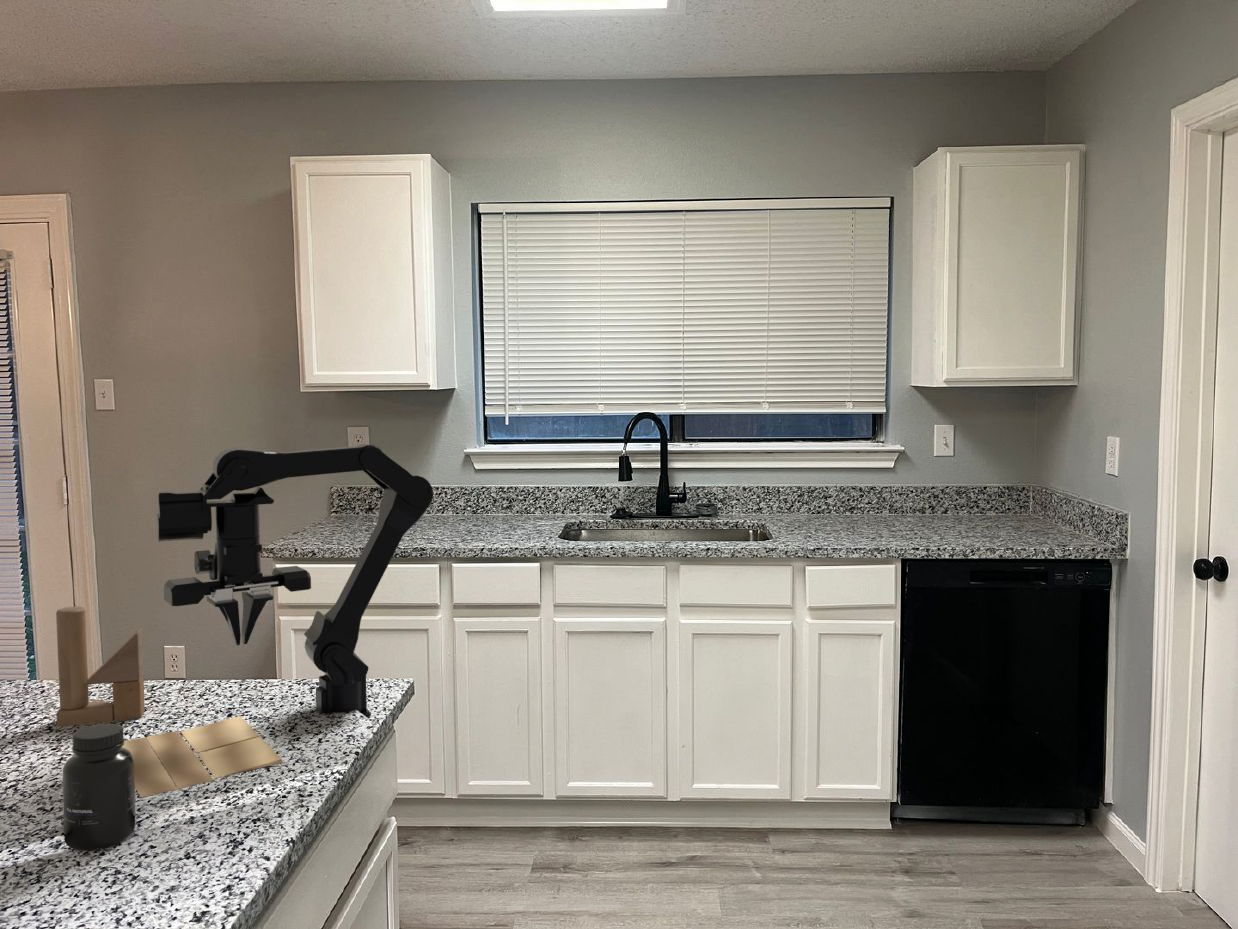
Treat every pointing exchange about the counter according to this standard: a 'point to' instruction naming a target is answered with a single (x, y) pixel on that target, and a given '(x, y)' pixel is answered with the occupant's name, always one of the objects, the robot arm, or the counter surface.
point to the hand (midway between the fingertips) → (241, 644)
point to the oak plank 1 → (219, 734)
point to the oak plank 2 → (239, 757)
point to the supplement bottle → (98, 789)
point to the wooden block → (96, 675)
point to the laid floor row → (165, 764)
